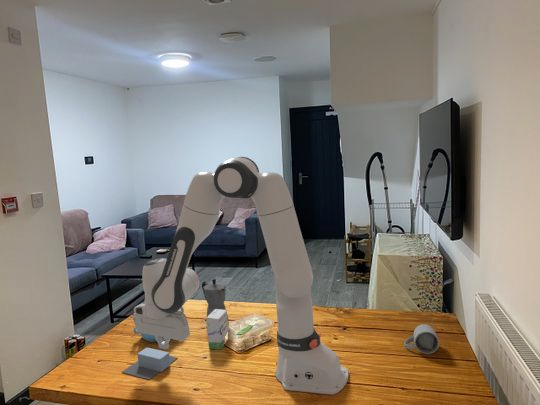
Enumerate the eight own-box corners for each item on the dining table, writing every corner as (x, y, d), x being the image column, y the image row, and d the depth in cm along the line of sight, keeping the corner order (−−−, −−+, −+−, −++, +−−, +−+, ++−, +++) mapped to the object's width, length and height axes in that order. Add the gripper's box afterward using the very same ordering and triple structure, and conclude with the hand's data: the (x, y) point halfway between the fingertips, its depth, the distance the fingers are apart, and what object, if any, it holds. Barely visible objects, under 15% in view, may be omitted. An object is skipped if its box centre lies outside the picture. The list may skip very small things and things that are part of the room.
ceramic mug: (435, 342, 142) (434, 321, 141) (439, 354, 134) (438, 332, 133) (403, 341, 145) (402, 321, 144) (405, 353, 137) (404, 331, 136)
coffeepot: (236, 320, 170) (232, 279, 168) (218, 329, 164) (214, 285, 161) (213, 311, 181) (210, 272, 179) (196, 319, 175) (192, 278, 172)
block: (169, 352, 138) (146, 347, 142) (160, 359, 134) (137, 353, 138) (170, 364, 138) (148, 359, 143) (161, 371, 134) (138, 366, 139)
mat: (177, 358, 143) (177, 357, 143) (149, 380, 131) (149, 379, 131) (151, 352, 148) (151, 351, 148) (121, 372, 136) (121, 371, 136)
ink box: (221, 350, 147) (218, 318, 145) (208, 348, 148) (205, 318, 147) (229, 338, 155) (227, 309, 153) (217, 337, 156) (215, 308, 155)
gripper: (191, 308, 131) (195, 348, 133) (143, 300, 141) (147, 338, 143) (178, 316, 126) (183, 358, 128) (129, 307, 135) (134, 347, 137)
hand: (164, 347), depth 135 cm, fingers closed
